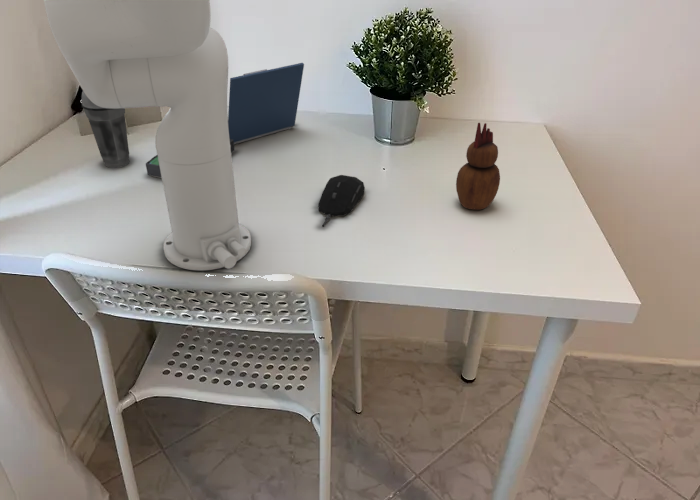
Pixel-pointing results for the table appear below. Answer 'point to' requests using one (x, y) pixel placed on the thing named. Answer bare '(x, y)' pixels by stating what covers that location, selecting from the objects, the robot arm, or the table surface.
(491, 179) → the wooden figurine
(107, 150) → the beverage cup
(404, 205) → the table surface
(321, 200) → the gaming mouse
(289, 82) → the sign
